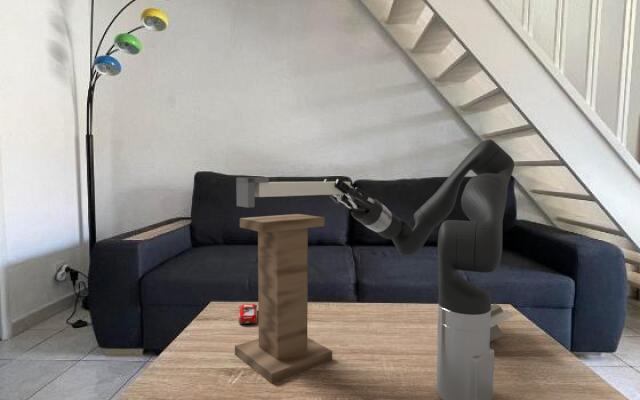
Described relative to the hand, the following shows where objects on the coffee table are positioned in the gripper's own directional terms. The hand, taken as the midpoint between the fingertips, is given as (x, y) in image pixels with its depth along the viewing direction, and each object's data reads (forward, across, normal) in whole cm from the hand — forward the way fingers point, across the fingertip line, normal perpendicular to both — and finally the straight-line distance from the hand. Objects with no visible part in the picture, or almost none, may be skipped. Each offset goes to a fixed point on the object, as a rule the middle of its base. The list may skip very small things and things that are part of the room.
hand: (330, 182), depth 95 cm
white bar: (+6, 0, +9) cm, 11 cm away
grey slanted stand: (-46, +23, +20) cm, 55 cm away
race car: (-13, -27, +39) cm, 49 cm away
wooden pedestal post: (-8, 0, +42) cm, 42 cm away
